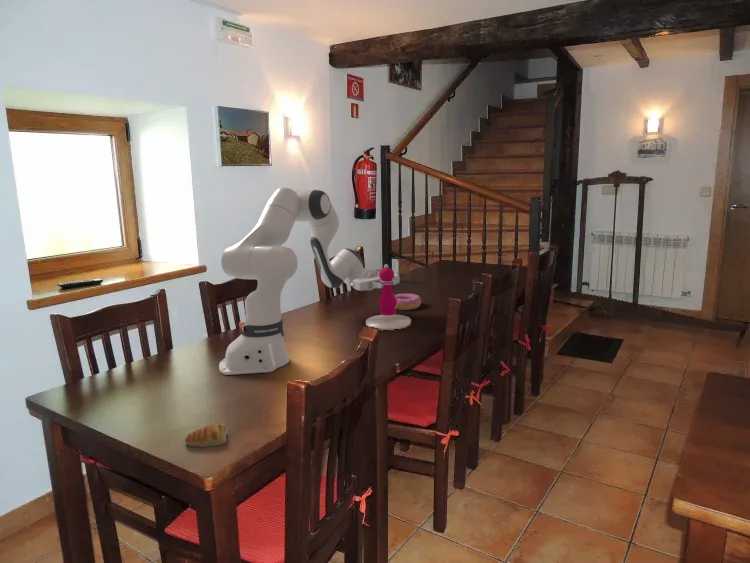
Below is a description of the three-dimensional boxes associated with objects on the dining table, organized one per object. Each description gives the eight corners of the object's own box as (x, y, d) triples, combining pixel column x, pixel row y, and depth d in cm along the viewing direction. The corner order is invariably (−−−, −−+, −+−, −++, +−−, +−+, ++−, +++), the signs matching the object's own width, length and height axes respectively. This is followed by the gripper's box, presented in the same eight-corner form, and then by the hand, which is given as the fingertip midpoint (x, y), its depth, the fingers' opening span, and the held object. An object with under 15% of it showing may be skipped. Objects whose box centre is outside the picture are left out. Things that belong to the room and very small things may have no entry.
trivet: (372, 332, 204) (372, 328, 204) (361, 320, 221) (361, 317, 221) (417, 327, 208) (417, 323, 208) (402, 315, 225) (402, 312, 225)
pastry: (185, 452, 121) (183, 437, 121) (186, 439, 128) (184, 424, 127) (227, 444, 124) (226, 429, 123) (226, 432, 130) (225, 417, 130)
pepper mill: (395, 316, 210) (393, 265, 205) (377, 315, 211) (375, 265, 207) (398, 311, 216) (396, 262, 212) (381, 310, 218) (379, 262, 214)
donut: (421, 302, 246) (421, 292, 245) (420, 311, 233) (420, 299, 232) (390, 303, 248) (390, 292, 247) (388, 311, 234) (387, 300, 233)
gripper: (346, 275, 215) (366, 281, 204) (386, 268, 227) (407, 273, 216) (347, 291, 216) (367, 297, 205) (387, 283, 228) (408, 288, 217)
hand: (388, 284), depth 211 cm, fingers closed on pepper mill, 5 cm apart
